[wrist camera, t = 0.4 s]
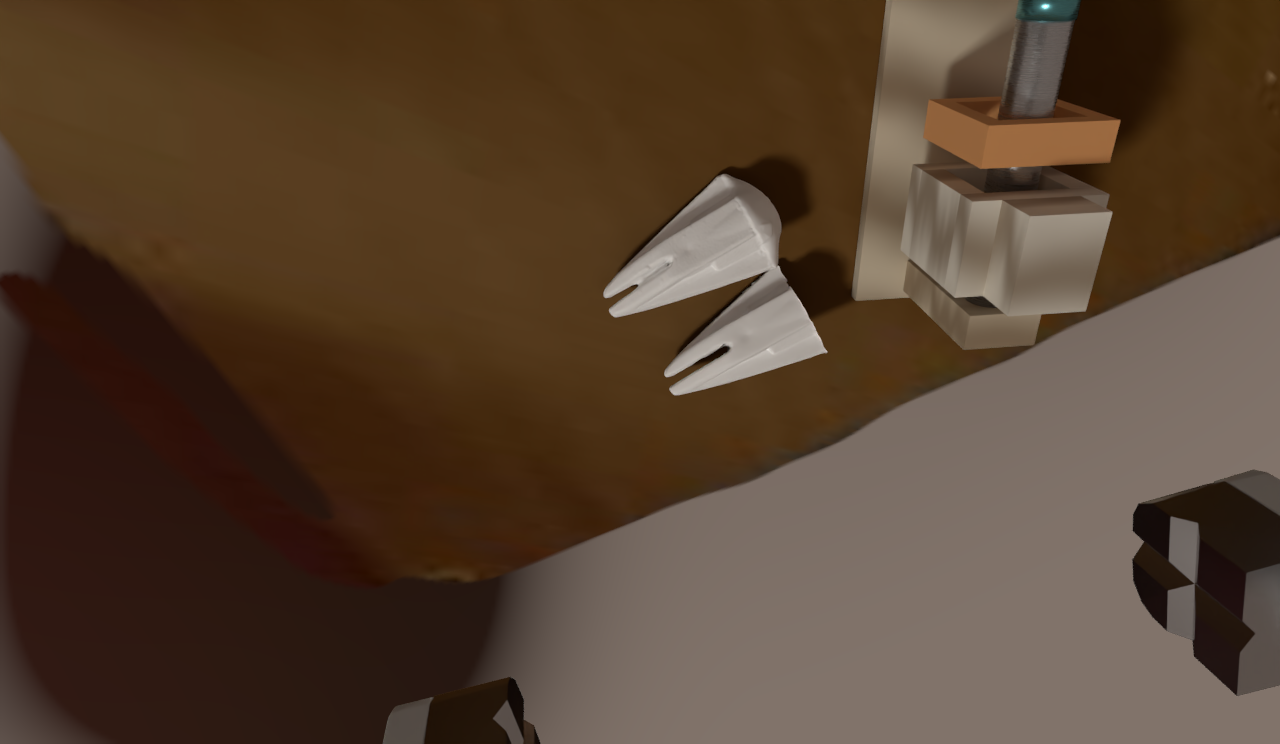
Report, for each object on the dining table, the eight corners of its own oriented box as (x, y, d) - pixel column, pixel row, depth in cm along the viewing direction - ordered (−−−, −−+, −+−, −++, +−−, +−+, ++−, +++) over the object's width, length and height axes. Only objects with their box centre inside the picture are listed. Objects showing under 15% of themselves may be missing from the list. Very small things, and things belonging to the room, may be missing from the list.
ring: (928, 99, 43) (988, 125, 38) (1044, 94, 44) (1120, 119, 38) (922, 137, 44) (980, 168, 39) (1036, 132, 45) (1109, 162, 39)
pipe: (1025, -99, 37) (1058, -100, 35) (1080, -99, 37) (1116, -101, 35) (954, 290, 46) (976, 309, 44) (998, 287, 46) (1023, 306, 44)
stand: (904, -153, 40) (995, -171, 33) (1094, -155, 41) (1227, -173, 34) (851, 295, 52) (908, 361, 44) (1001, 286, 53) (1083, 349, 45)
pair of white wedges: (751, 156, 47) (576, 233, 48) (769, 177, 44) (579, 259, 45) (810, 326, 53) (653, 391, 54) (830, 356, 49) (660, 425, 51)
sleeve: (912, 164, 45) (998, 218, 37) (1032, 158, 46) (1143, 210, 38) (900, 249, 48) (978, 318, 39) (1014, 243, 48) (1114, 309, 40)
